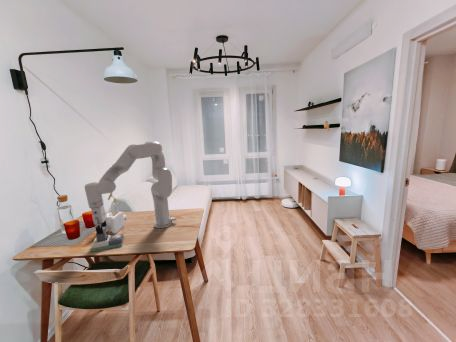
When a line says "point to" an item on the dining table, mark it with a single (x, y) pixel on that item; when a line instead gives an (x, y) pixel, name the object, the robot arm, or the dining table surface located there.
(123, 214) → the flower in vase
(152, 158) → the robot arm
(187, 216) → the dining table surface
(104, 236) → the plug
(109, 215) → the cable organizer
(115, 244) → the header board
